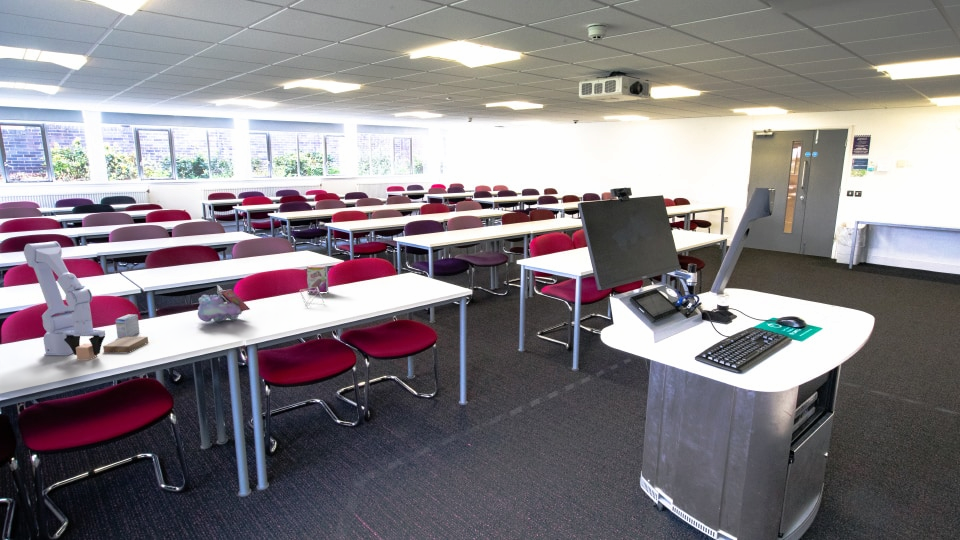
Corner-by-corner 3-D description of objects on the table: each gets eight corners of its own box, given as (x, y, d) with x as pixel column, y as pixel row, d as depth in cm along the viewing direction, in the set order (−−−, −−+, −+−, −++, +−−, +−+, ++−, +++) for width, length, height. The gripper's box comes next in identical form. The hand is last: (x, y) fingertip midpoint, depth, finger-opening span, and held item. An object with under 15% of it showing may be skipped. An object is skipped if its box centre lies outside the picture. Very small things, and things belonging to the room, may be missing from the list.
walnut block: (104, 353, 202) (103, 346, 202) (124, 343, 214) (123, 336, 213) (129, 353, 202) (128, 346, 202) (148, 343, 214) (147, 336, 213)
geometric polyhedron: (324, 301, 283) (323, 286, 281) (325, 306, 273) (324, 290, 271) (300, 303, 279) (299, 287, 277) (300, 308, 269) (299, 292, 267)
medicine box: (130, 332, 227) (127, 314, 225) (140, 332, 226) (137, 314, 225) (117, 338, 219) (114, 319, 217) (127, 338, 219) (124, 319, 217)
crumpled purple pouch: (196, 320, 246) (193, 284, 243) (244, 313, 258) (242, 279, 254) (200, 331, 230) (197, 292, 226) (252, 323, 241) (249, 287, 238)
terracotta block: (77, 360, 194) (75, 347, 193) (86, 355, 198) (84, 343, 197) (89, 360, 194) (87, 347, 193) (97, 355, 198) (96, 343, 197)
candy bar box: (307, 294, 299) (305, 267, 296) (309, 292, 304) (308, 265, 301) (326, 294, 300) (325, 267, 297) (328, 292, 305) (327, 265, 302)
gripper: (54, 323, 189) (59, 357, 192) (93, 323, 189) (98, 357, 192) (69, 317, 196) (74, 351, 199) (107, 317, 196) (111, 351, 199)
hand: (87, 354), depth 196 cm, fingers open, 7 cm apart
